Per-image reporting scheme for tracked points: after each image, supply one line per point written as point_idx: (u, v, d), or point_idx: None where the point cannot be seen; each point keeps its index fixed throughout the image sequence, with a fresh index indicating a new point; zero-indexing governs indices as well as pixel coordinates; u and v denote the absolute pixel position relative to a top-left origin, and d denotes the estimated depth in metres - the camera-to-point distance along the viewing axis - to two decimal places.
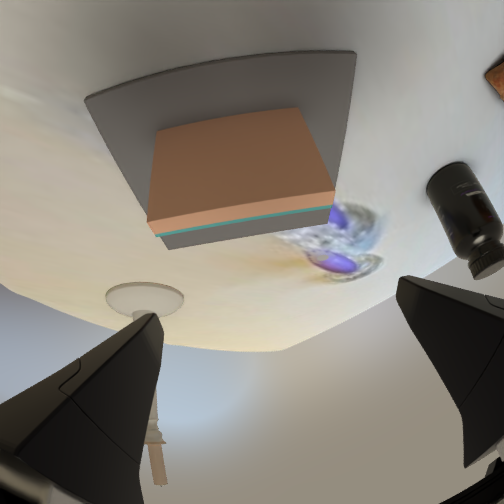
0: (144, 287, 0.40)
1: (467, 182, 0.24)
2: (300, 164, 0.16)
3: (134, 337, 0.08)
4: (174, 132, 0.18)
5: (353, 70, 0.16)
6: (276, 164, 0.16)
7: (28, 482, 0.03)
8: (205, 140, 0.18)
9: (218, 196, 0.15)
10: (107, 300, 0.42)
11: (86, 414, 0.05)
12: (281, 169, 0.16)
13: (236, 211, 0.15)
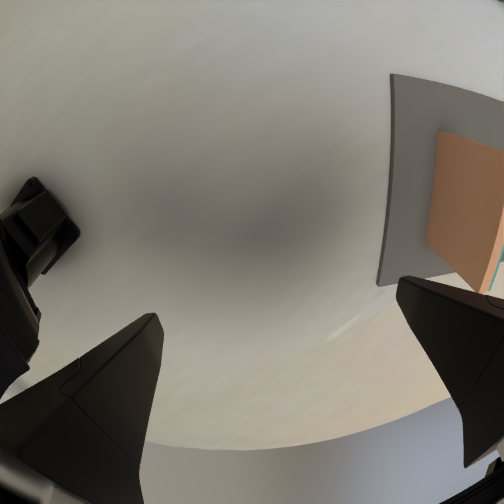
0: None
1: None
2: (486, 165, 0.14)
3: (134, 337, 0.08)
4: (431, 232, 0.22)
5: (408, 76, 0.16)
6: (481, 183, 0.15)
7: (28, 482, 0.03)
8: (446, 217, 0.19)
9: (487, 239, 0.15)
10: None
11: (85, 414, 0.05)
12: (485, 182, 0.14)
13: (501, 233, 0.14)
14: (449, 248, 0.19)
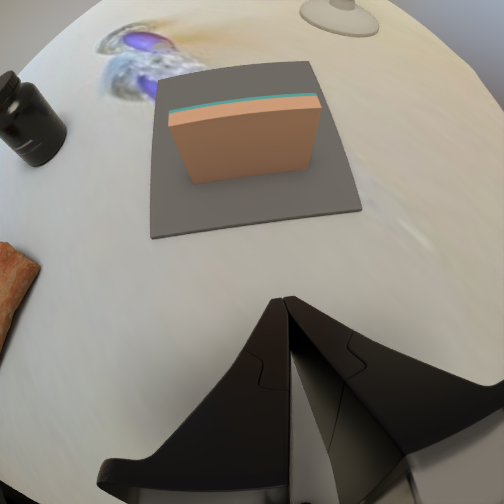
0: (337, 29, 0.31)
1: (31, 151, 0.25)
2: (195, 142, 0.19)
3: (288, 321, 0.08)
4: (293, 167, 0.24)
5: (150, 222, 0.24)
6: (214, 141, 0.20)
7: None
8: (268, 159, 0.23)
9: (262, 119, 0.18)
10: (377, 26, 0.32)
11: None
12: (210, 138, 0.19)
13: (248, 107, 0.17)
14: (296, 147, 0.22)
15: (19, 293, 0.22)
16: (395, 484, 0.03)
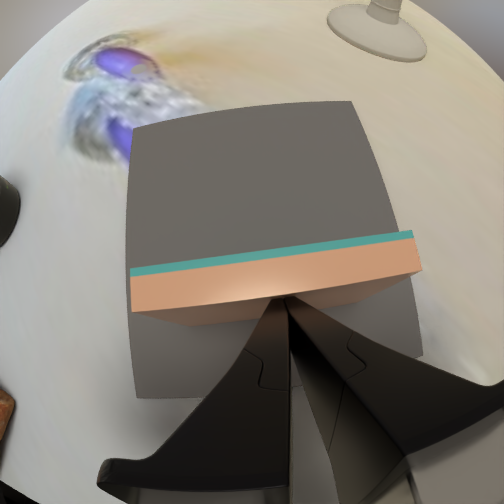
0: (380, 50, 0.23)
1: None
2: (186, 315, 0.11)
3: (288, 321, 0.08)
4: (339, 304, 0.16)
5: (134, 376, 0.16)
6: (220, 312, 0.11)
7: None
8: None
9: (313, 293, 0.10)
10: (425, 47, 0.24)
11: None
12: (214, 311, 0.11)
13: (289, 277, 0.09)
14: (354, 297, 0.13)
15: None
16: (395, 484, 0.03)
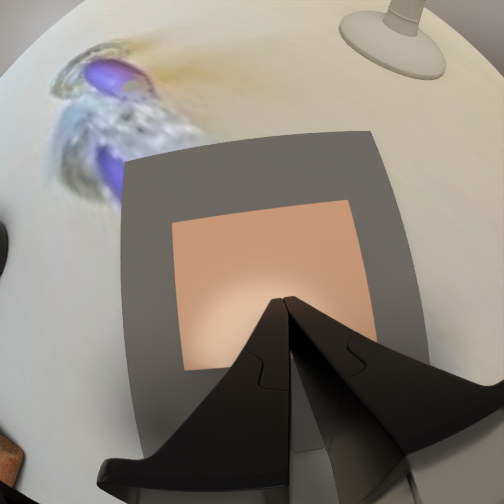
0: (399, 67, 0.21)
1: None
2: (198, 257, 0.16)
3: (288, 321, 0.08)
4: None
5: (141, 438, 0.14)
6: (223, 258, 0.15)
7: None
8: None
9: (282, 220, 0.16)
10: (444, 62, 0.22)
11: None
12: (218, 251, 0.16)
13: None
14: (343, 280, 0.15)
15: (10, 481, 0.11)
16: (395, 484, 0.03)
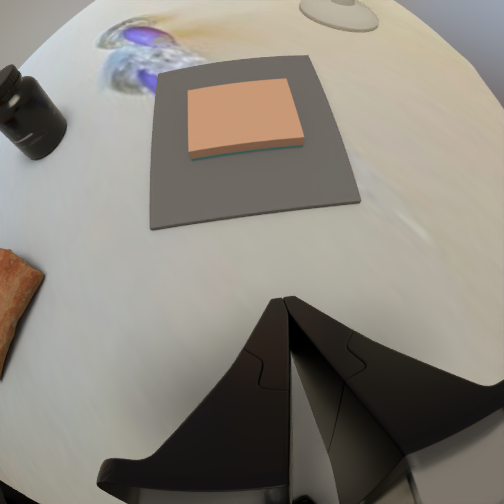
0: (337, 24, 0.31)
1: (32, 144, 0.25)
2: (201, 102, 0.26)
3: (288, 321, 0.08)
4: (287, 132, 0.24)
5: (150, 213, 0.24)
6: (215, 102, 0.25)
7: None
8: (260, 120, 0.25)
9: (248, 86, 0.26)
10: (376, 21, 0.32)
11: None
12: (213, 99, 0.26)
13: None
14: (282, 109, 0.25)
15: (23, 302, 0.21)
16: (395, 484, 0.03)
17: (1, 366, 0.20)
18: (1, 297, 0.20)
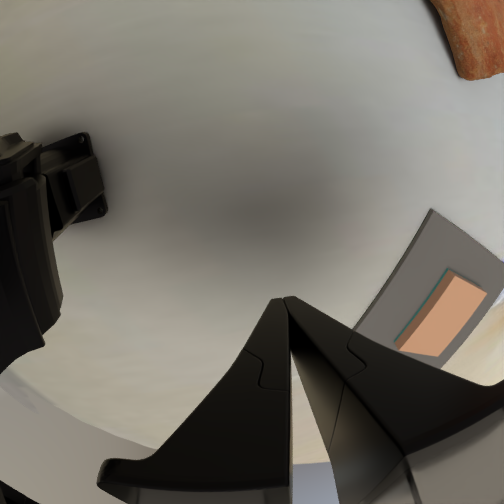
0: None
1: None
2: (473, 299, 0.25)
3: (288, 321, 0.08)
4: (409, 342, 0.27)
5: (441, 216, 0.22)
6: (465, 307, 0.26)
7: None
8: (430, 330, 0.27)
9: (454, 332, 0.28)
10: None
11: None
12: (468, 307, 0.26)
13: None
14: (424, 345, 0.28)
15: (455, 42, 0.13)
16: (395, 484, 0.03)
17: None
18: (476, 29, 0.11)
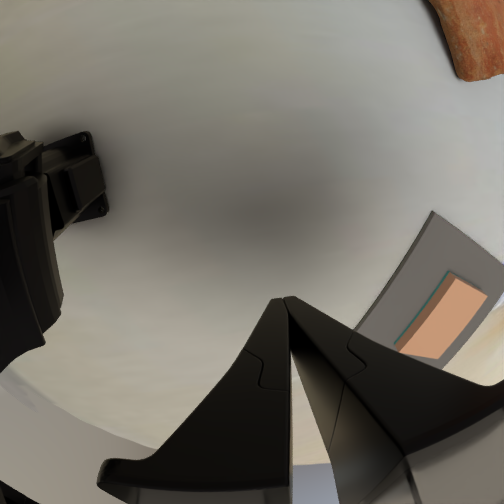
0: None
1: None
2: (473, 301, 0.25)
3: (288, 321, 0.08)
4: (410, 344, 0.27)
5: None
6: (465, 310, 0.26)
7: None
8: (430, 332, 0.27)
9: (454, 335, 0.28)
10: None
11: None
12: (468, 309, 0.26)
13: None
14: (424, 348, 0.28)
15: (454, 42, 0.13)
16: (395, 484, 0.03)
17: None
18: (475, 29, 0.11)
